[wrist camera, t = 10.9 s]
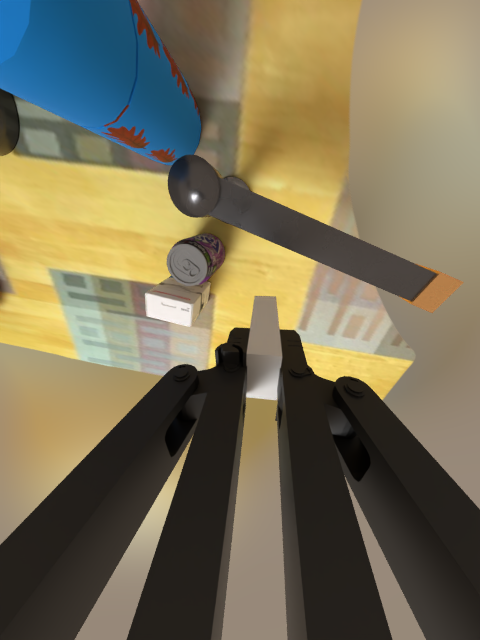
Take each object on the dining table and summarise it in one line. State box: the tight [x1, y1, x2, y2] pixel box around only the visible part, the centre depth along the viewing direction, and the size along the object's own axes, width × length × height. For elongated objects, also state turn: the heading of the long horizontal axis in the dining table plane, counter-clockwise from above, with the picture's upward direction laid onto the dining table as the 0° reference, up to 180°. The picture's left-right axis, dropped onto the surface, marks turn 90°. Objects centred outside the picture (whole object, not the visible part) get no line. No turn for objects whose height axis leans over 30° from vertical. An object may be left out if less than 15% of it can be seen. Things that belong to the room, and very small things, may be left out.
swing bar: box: [168, 155, 463, 313], centre depth 19 cm, size 28×4×4 cm, turn 69°
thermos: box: [0, 0, 201, 165], centre depth 19 cm, size 11×11×25 cm
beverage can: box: [167, 233, 225, 286], centre depth 34 cm, size 7×7×12 cm
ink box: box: [145, 276, 211, 327], centre depth 38 cm, size 8×5×12 cm, turn 79°
